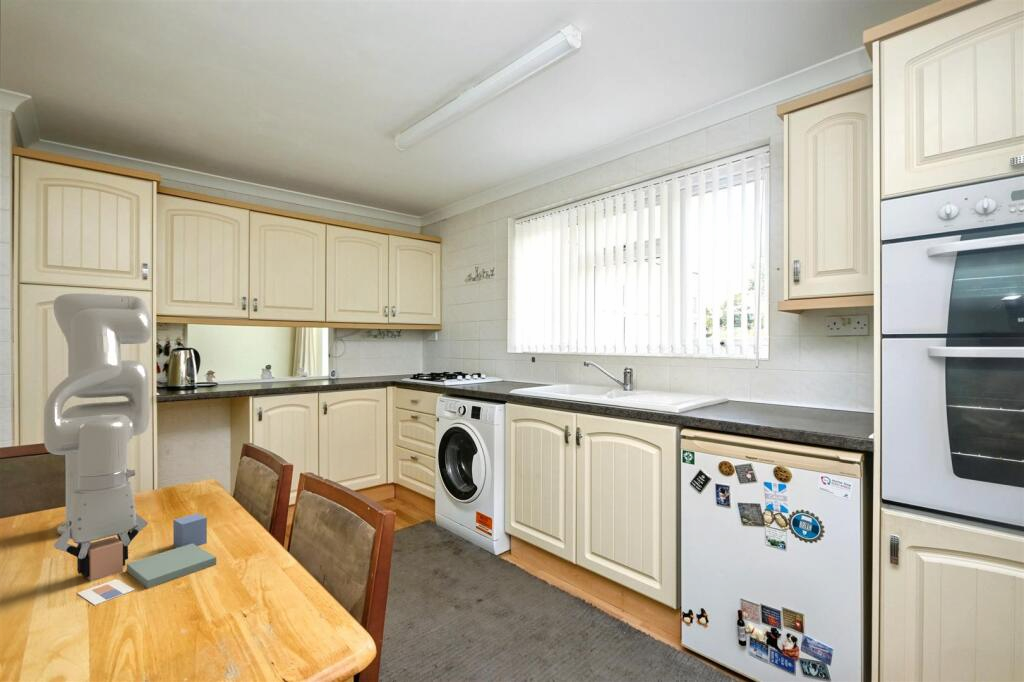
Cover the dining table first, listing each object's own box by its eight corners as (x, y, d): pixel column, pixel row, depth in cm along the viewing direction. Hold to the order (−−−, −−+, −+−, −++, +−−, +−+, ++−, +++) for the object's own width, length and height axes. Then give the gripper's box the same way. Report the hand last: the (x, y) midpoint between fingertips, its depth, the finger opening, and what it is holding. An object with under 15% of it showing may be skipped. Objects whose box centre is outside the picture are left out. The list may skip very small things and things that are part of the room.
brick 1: (83, 574, 96) (83, 544, 96) (114, 564, 100) (114, 536, 100) (91, 581, 93) (90, 551, 93) (122, 571, 97) (122, 542, 97)
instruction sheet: (77, 593, 89) (77, 592, 89) (116, 579, 94) (116, 578, 94) (94, 605, 85) (94, 604, 85) (134, 590, 90) (134, 589, 90)
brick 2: (173, 545, 110) (173, 519, 110) (197, 538, 114) (197, 513, 114) (182, 551, 107) (182, 524, 107) (206, 543, 111) (206, 517, 111)
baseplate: (126, 570, 97) (126, 563, 97) (192, 549, 107) (192, 543, 107) (147, 588, 90) (147, 580, 90) (216, 564, 100) (216, 557, 100)
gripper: (146, 468, 106) (147, 550, 106) (40, 488, 92) (41, 582, 92) (159, 474, 101) (159, 559, 101) (50, 495, 88) (50, 593, 87)
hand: (103, 568), depth 97 cm, fingers closed on brick 1, 5 cm apart
